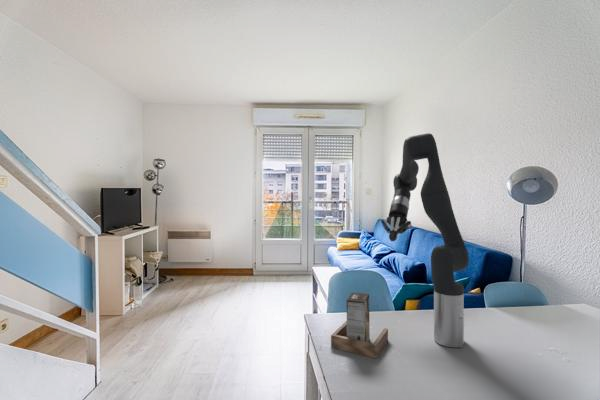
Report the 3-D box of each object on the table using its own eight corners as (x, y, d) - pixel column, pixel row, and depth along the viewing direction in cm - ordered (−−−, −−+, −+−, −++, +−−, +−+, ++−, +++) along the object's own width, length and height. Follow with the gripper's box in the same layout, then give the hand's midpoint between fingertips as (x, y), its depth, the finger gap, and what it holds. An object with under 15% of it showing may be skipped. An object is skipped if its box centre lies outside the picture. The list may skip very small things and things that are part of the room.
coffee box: (351, 336, 117) (351, 291, 116) (369, 338, 115) (369, 293, 114) (346, 347, 108) (346, 299, 108) (365, 350, 106) (365, 301, 106)
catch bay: (387, 340, 113) (387, 328, 113) (375, 358, 101) (375, 345, 101) (346, 331, 121) (346, 320, 121) (331, 347, 109) (331, 335, 109)
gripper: (382, 202, 143) (374, 233, 133) (413, 202, 137) (407, 235, 127) (385, 213, 148) (378, 244, 138) (416, 214, 142) (410, 246, 131)
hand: (392, 240), depth 132 cm, fingers closed
